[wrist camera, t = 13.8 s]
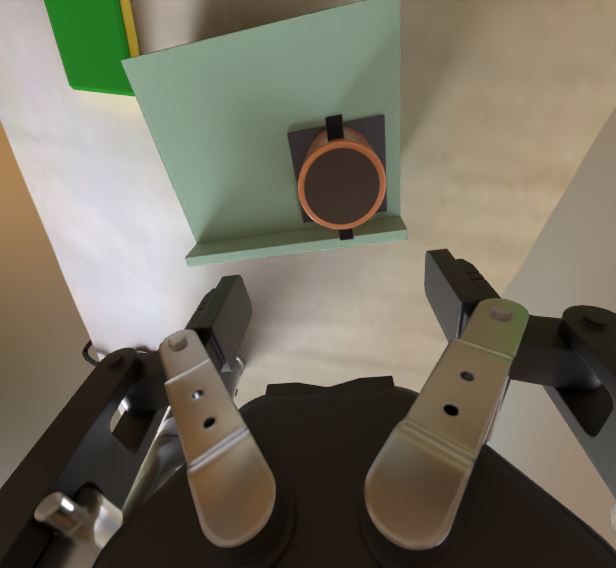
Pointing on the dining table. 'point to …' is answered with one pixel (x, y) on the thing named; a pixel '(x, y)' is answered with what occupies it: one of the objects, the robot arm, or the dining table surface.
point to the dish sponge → (95, 42)
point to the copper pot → (341, 178)
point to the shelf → (273, 125)
